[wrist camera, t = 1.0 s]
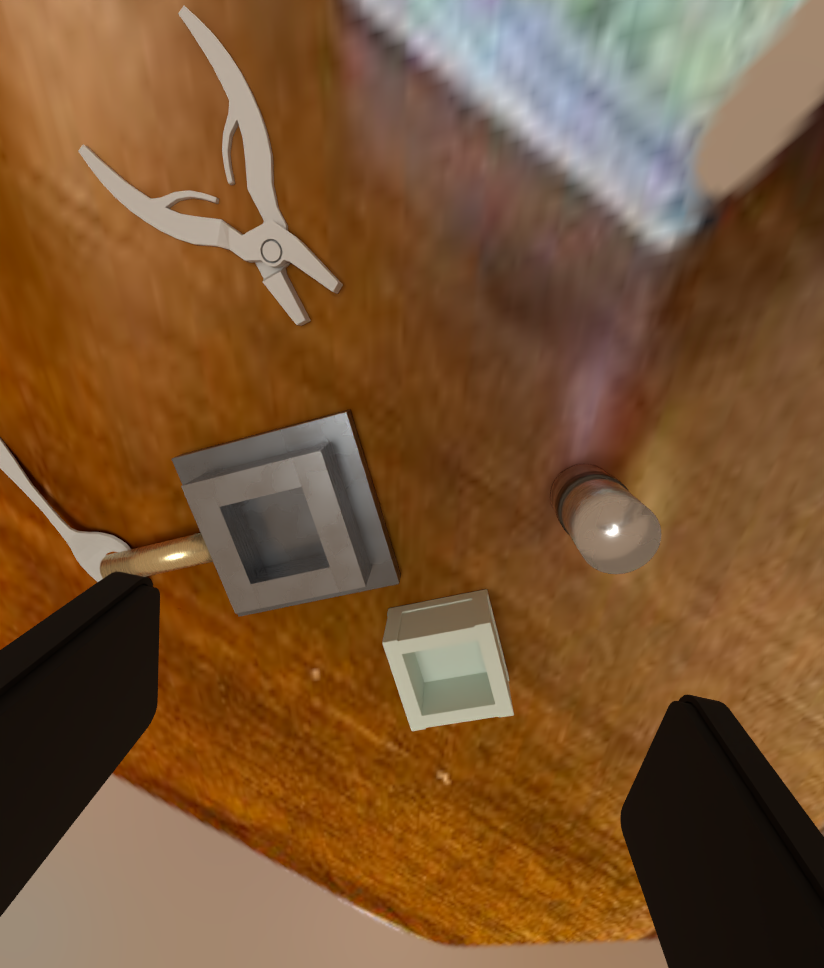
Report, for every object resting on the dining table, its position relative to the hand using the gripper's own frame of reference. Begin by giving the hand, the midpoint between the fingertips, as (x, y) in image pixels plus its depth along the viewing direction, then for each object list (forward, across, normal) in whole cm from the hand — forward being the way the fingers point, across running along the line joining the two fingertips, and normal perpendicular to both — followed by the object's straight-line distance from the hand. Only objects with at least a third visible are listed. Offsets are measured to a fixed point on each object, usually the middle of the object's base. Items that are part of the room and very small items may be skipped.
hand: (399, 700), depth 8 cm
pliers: (+23, +14, -11) cm, 29 cm away
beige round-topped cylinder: (+22, -10, +2) cm, 25 cm away
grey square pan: (+22, +11, +9) cm, 27 cm away
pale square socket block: (+22, -4, +14) cm, 27 cm away
